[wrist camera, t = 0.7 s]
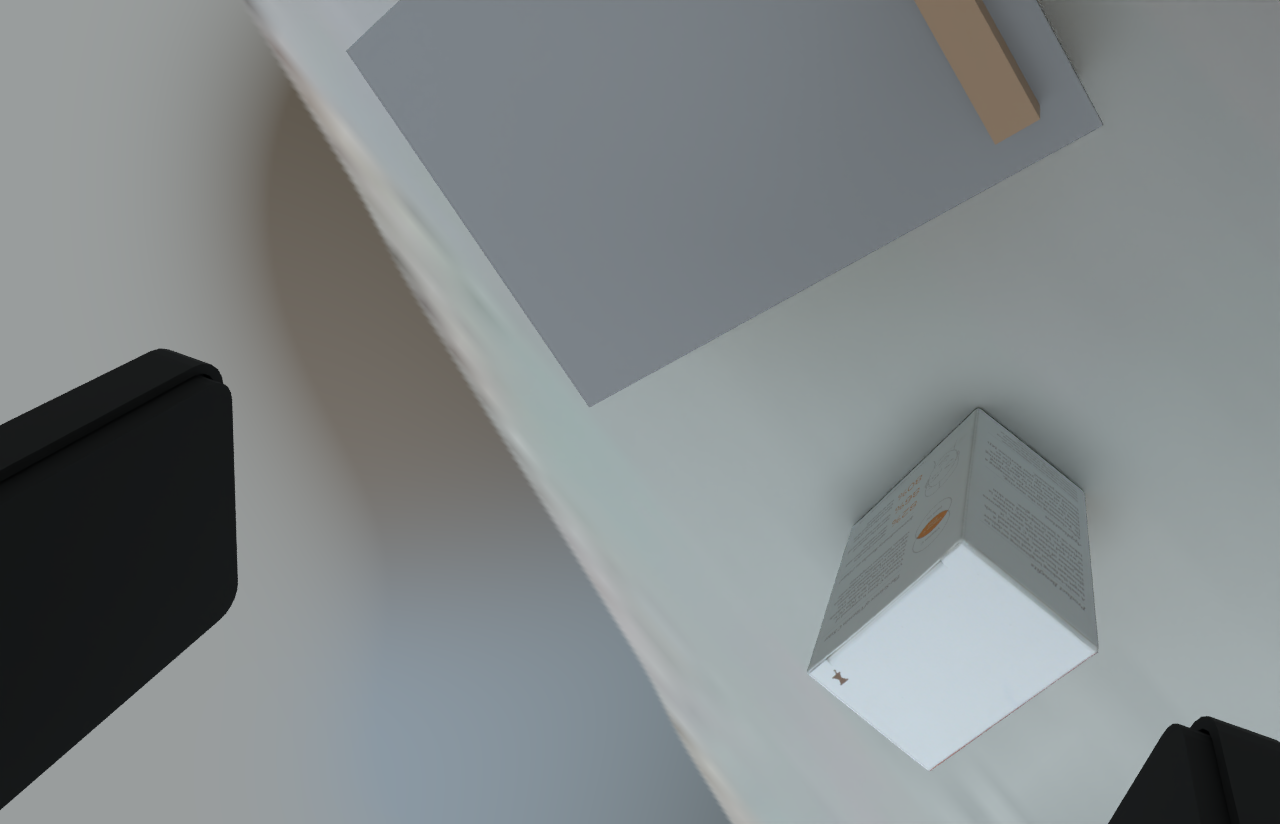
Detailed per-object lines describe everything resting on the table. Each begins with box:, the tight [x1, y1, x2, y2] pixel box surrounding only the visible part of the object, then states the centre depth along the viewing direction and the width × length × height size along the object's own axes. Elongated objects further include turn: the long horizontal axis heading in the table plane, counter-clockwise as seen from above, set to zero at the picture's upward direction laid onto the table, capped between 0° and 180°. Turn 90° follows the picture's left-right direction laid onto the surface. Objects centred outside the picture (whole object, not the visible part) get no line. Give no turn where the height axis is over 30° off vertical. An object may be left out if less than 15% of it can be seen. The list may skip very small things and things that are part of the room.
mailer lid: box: [346, 0, 1103, 407], centre depth 29 cm, size 19×15×3 cm
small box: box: [807, 409, 1098, 771], centre depth 37 cm, size 8×6×10 cm
